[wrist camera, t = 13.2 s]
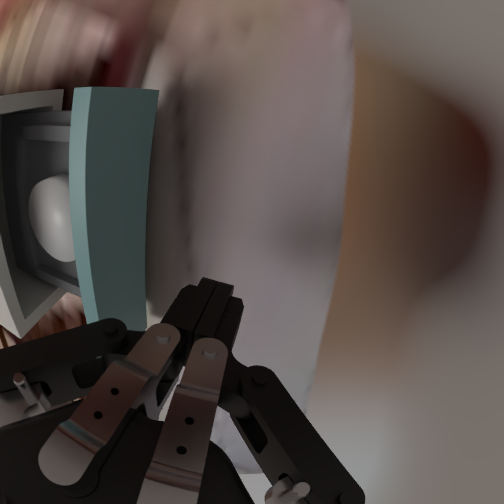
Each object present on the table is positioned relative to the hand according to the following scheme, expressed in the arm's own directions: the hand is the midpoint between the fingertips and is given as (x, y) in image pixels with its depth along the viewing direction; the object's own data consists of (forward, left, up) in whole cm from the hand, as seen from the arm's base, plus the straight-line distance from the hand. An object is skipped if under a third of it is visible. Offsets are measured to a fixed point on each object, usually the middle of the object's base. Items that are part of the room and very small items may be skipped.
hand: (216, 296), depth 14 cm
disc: (0, +12, -4) cm, 13 cm away
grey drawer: (0, +14, -4) cm, 14 cm away
